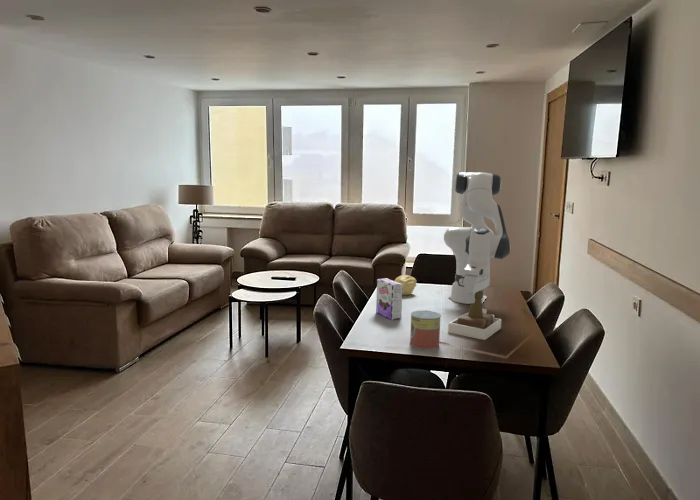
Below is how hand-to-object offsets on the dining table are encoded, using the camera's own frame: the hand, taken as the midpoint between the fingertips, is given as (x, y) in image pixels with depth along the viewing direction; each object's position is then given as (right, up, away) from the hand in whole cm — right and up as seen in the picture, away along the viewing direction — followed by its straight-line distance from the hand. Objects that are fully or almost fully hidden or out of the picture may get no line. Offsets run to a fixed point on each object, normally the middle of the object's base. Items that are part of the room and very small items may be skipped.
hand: (476, 300), depth 208 cm
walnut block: (0, -13, +2) cm, 13 cm away
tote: (0, -14, +2) cm, 14 cm away
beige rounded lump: (-23, -4, +69) cm, 73 cm away
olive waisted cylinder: (0, -7, +1) cm, 7 cm away
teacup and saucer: (+10, -11, +23) cm, 28 cm away
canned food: (-24, -16, -15) cm, 32 cm away
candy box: (-35, -10, +25) cm, 44 cm away
